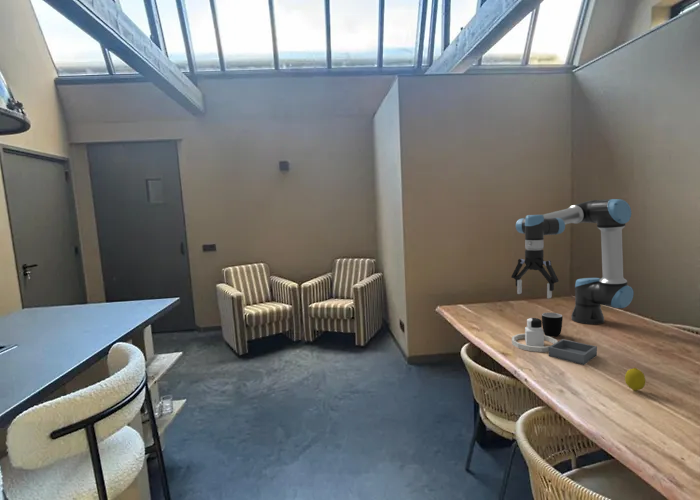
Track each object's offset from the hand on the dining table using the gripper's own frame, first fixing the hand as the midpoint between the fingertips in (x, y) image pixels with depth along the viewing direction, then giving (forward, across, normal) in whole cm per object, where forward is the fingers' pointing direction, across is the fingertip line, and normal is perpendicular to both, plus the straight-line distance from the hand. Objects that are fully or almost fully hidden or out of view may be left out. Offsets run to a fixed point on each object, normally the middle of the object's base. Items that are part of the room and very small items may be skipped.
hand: (534, 295), depth 176 cm
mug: (+23, -1, +19) cm, 30 cm away
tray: (+23, +18, -3) cm, 29 cm away
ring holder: (+23, 0, 0) cm, 23 cm away
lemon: (+23, +44, -21) cm, 54 cm away
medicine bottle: (+23, 0, 0) cm, 23 cm away
